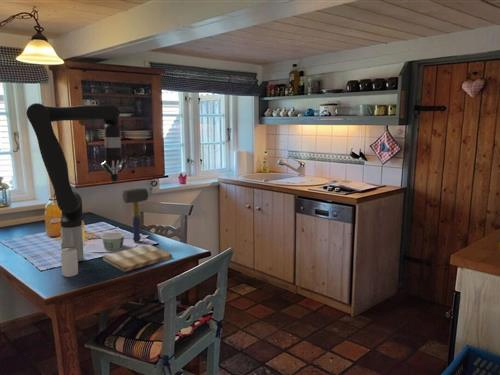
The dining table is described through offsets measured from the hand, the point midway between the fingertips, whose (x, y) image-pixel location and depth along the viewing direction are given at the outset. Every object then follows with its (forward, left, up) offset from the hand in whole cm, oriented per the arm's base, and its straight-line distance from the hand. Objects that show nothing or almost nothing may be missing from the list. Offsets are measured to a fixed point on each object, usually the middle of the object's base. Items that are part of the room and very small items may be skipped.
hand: (114, 181), depth 202 cm
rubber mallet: (+10, +16, -37) cm, 42 cm away
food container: (-2, +9, -37) cm, 38 cm away
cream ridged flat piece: (+7, -8, -37) cm, 38 cm away
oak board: (+13, -17, -37) cm, 42 cm away
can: (-19, -25, -37) cm, 49 cm away
